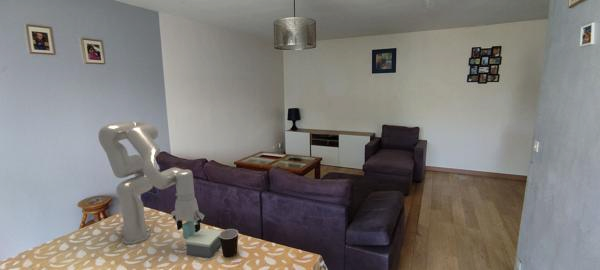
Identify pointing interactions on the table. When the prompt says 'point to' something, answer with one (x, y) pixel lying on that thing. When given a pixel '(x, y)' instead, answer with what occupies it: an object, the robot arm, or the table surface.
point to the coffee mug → (229, 242)
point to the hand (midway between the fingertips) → (188, 229)
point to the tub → (203, 249)
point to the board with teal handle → (199, 235)
